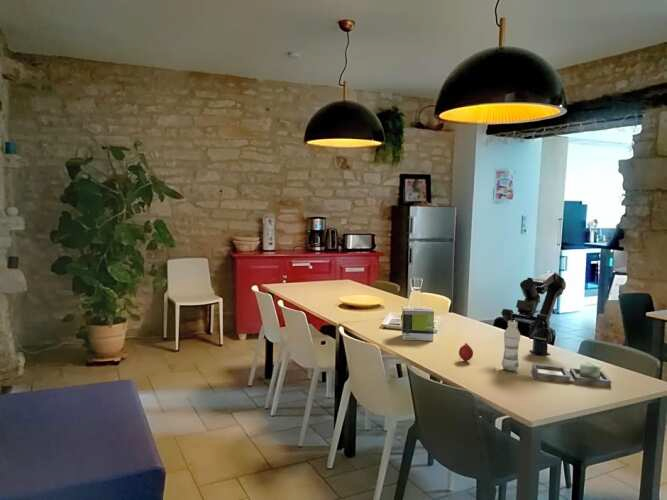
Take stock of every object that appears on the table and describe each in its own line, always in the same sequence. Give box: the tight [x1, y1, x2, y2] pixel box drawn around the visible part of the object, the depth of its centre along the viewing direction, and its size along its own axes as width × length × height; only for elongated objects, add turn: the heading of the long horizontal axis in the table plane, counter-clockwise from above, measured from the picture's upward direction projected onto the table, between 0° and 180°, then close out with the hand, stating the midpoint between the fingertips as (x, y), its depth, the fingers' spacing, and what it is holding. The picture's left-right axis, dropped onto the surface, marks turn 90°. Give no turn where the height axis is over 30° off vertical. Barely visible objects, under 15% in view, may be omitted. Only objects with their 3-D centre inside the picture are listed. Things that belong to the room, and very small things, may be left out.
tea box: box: [401, 306, 435, 342], centre depth 253 cm, size 15×10×15 cm, turn 84°
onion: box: [458, 342, 474, 362], centre depth 217 cm, size 6×6×8 cm
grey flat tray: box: [531, 361, 612, 389], centre depth 199 cm, size 26×12×6 cm, turn 75°
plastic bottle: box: [501, 320, 521, 372], centre depth 206 cm, size 6×7×20 cm
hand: (518, 334), depth 212 cm, fingers open, 9 cm apart
